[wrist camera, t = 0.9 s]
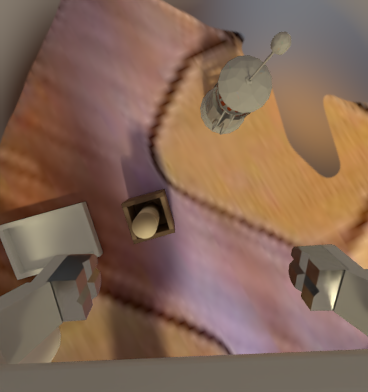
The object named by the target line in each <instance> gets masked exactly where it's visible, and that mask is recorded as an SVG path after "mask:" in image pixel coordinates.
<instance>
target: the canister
mask: <svg viewBox="0 0 368 392" xmlns="http://www.w3.org/2000/svg"><path fill="white" fill-rule="evenodd" d="M60 340H61V333H60V330H59V326H58V327H57V328H56V329H55V330H54V331H53V332H52V333H51V334H50V335H49V336H47V337H46V338H45V339H44V340H43V341H42V342H41V343H40V344H39V345H38V346H37V347H35V348H34V349H33V350H32V351H31V352H30V353H29V354H28V355H27V356H26V357H25V358H23V359H22V360H21V361H20V362H19V363H18V364H25V363H50V362H51V361H52V359H53V358H54V356H55V354H56V352H57V350H58V348H59V346H60Z"/></svg>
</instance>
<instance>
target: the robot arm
mask: <svg viewBox="0 0 368 392" xmlns="http://www.w3.org/2000/svg"><path fill="white" fill-rule="evenodd" d="M291 256H292V257H293V259H294V260H293V261H292V262H291V263H290V264H289V276H290V280H291V282H292V284H293V285H294V287H295V288H296V289H298V290H299V291H301V292H302V293H301V297H302V299H303V300H304V302H305V303H306V305H307V306H308V308H309V309H310V311H334V312H335V313H336V314H338V315H339V316H341V317H342V318H343V319H345V320H346V321H347V322H349V323H350V324H352V325H353V326H354V327H356V328H357V329H359V330H360V331H361V332H363V333H364V334H365V335H367V336H368V269H363V268H362V267H361V266H359V265H358V264H357V263H356V262H354V261H353V260H352V259H351V258H350V257H348V256H347V255H346V254H345V253H343V252H342V251H341V250H340V249H339V248H337V247H336V246H335V245H332V244H325V245H314V246H295V247H293V249H292V252H291ZM97 264H98V260H97V256H96V255H95V254H70V255H69V254H64V255H56V256H54V257H53V258H52V260H51V261H50V262H49V263H48V264H47V265H46V266H45V267H44V268H43V270H42V271H41V272H40V273H39V274H38V275H37V276H36V277H35V278H34V279H33V281H32V282H31V283H25V284H23V285H21V286H19V287H17V288H16V289H14V290H12V291H10V292H8V293H6V294H4V295H2V296H1V297H0V392H368V349H358V350H334V351H311V352H287V353H263V354H239V355H215V356H191V357H167V358H144V359H120V360H97V361H74V362H50V363H25V364H18V363H19V362H20V361H21V360H22V359H23V358H25V357H26V356H27V355H28V354H29V353H30V352H31V351H32V350H33V349H34V348H35V347H37V346H38V345H39V344H40V343H41V342H42V341H43V340H44V339H45V338H46V337H47V336H49V335H50V334H51V333H52V332H53V331H54V330H55V329H56V328H57V327H58V326H59V325H61V324H62V322H63V321H78V320H86V318H87V316H88V314H89V312H90V310H91V308H92V306H93V303H92V299H93V298H95V297H96V296H97V295H98V292H99V290H100V285H101V274H100V271H99V270H98V269H97V268H96V266H97Z"/></svg>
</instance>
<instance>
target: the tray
mask: <svg viewBox="0 0 368 392" xmlns="http://www.w3.org/2000/svg"><path fill="white" fill-rule="evenodd" d="M0 238H1V241H2V243H3V246H4V248H5V251H6V253H7V256H8V258H9V261H10V263H11V265H12V268H13V270H14V273H15V275H16V278H17V280H19V279H23V278H26V277H30V276H33V275H37V274H39V273H40V272H41V271H42V270H43V268H44V267H45V266H46V265H47V264H48V263H49V262H50V261H51V260H52V258H53V257H54V256H56V255H64V254H69V255H70V254H95V255H96V256H97V257H100V256H101V255H102V254H103V251H102V248H101V245H100V242H99V239H98V236H97V233H96V231H95V228H94V225H93V222H92V219H91V216H90V213H89V210H88V207H87V204H86V201H85V202H81V203H78V204H74V205H71V206H67V207H64V208H60V209H56V210H53V211H49V212H46V213H42V214H38V215H35V216H31V217H28V218H24V219H21V220H17V221H13V222H10V223H6V224H3V225H0Z"/></svg>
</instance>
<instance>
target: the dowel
mask: <svg viewBox="0 0 368 392" xmlns="http://www.w3.org/2000/svg"><path fill="white" fill-rule="evenodd" d="M160 215H161V209H160V207H159V206H158V205H157V204H155V203H148V204H146V205H145V206H144V207H143V208H142V210H141V211H140V212H139V214H138V215H137V216H136V218H135V219H134V220H133V223H132V230H133V232H134V234H135V235H136V236H137V237H139V238H143V239H146V238H150V237H152V236H153V235H154V234H155V232H156V230H157V226H158V222H159V218H160Z"/></svg>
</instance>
